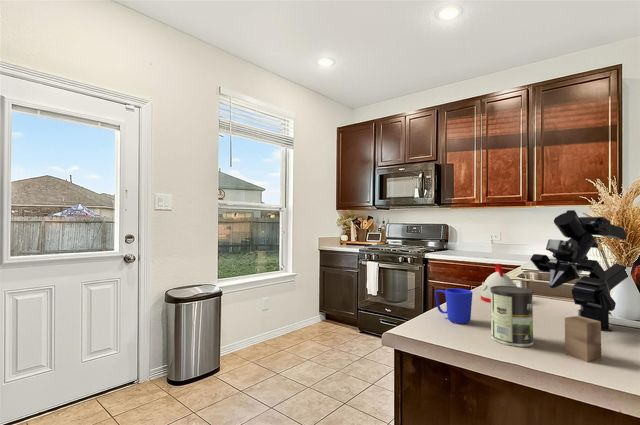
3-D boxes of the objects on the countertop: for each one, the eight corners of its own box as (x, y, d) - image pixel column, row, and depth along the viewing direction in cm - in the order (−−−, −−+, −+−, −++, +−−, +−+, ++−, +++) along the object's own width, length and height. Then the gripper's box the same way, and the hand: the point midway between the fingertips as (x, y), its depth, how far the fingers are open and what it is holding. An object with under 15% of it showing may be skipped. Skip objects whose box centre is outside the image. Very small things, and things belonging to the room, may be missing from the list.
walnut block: (579, 351, 83) (578, 315, 84) (601, 359, 79) (600, 321, 79) (565, 353, 82) (564, 317, 82) (587, 362, 77) (586, 323, 77)
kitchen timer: (512, 297, 141) (511, 262, 141) (524, 305, 127) (523, 267, 128) (477, 295, 144) (476, 261, 144) (485, 303, 130) (485, 266, 131)
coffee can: (533, 337, 93) (532, 287, 93) (534, 350, 84) (533, 294, 84) (492, 331, 98) (491, 284, 99) (489, 342, 90) (488, 290, 90)
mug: (441, 313, 116) (441, 285, 116) (476, 321, 108) (476, 290, 108) (430, 318, 111) (430, 289, 111) (466, 327, 102) (466, 294, 102)
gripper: (534, 229, 107) (508, 264, 104) (597, 231, 90) (570, 273, 86) (551, 252, 110) (527, 287, 106) (617, 258, 92) (591, 301, 88)
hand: (551, 287), depth 97 cm, fingers closed
